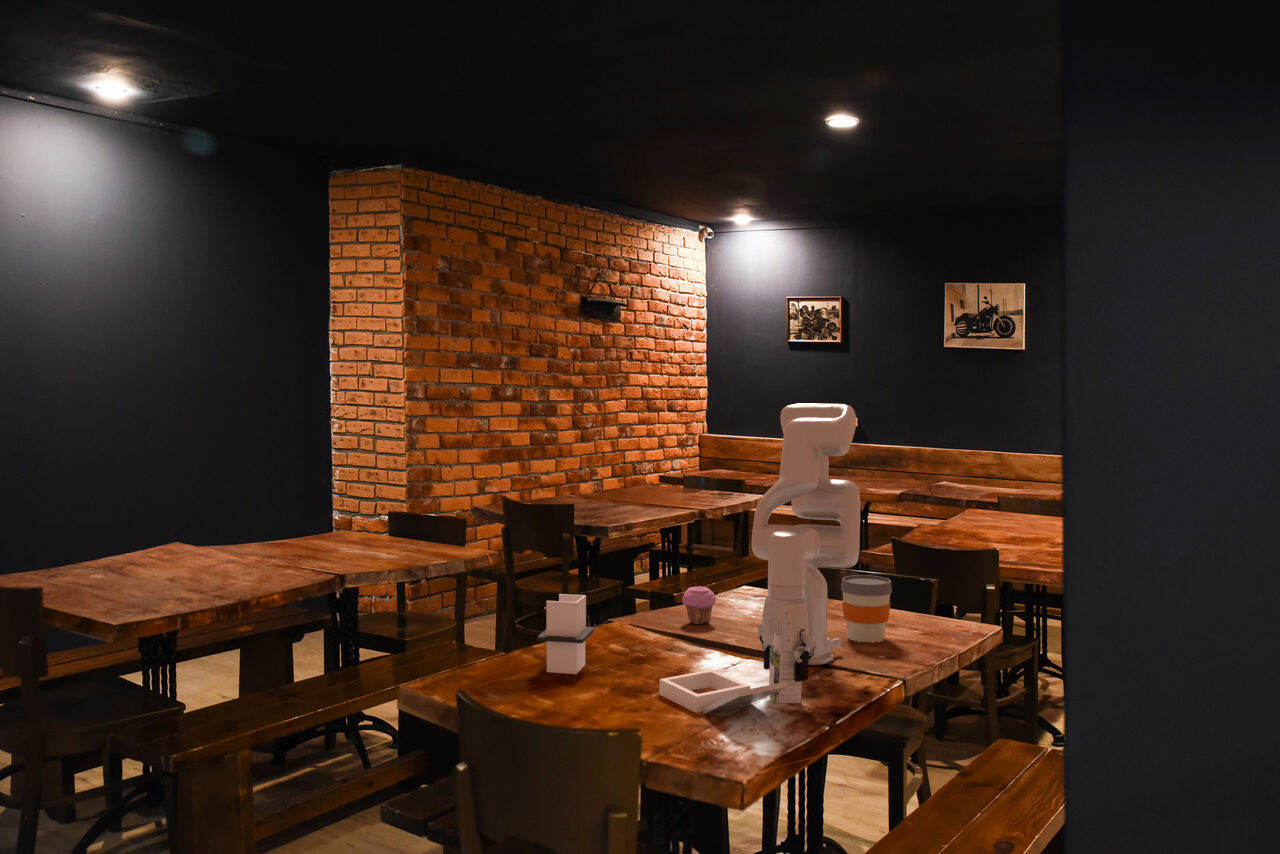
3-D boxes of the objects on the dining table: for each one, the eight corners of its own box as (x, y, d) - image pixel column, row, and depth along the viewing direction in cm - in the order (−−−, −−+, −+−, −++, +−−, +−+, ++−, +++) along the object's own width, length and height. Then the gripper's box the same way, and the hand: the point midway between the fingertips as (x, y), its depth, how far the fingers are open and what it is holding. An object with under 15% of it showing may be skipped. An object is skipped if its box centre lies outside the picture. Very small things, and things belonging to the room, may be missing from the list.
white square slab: (703, 714, 201) (701, 708, 201) (751, 703, 207) (750, 698, 208) (738, 696, 191) (736, 691, 191) (788, 686, 197) (786, 681, 198)
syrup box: (768, 695, 213) (768, 627, 213) (796, 695, 214) (796, 626, 213) (774, 704, 208) (774, 634, 207) (802, 704, 208) (803, 633, 207)
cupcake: (693, 628, 269) (694, 591, 268) (676, 621, 276) (676, 584, 276) (721, 624, 273) (722, 587, 273) (703, 617, 281) (703, 581, 280)
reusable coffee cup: (835, 641, 256) (836, 582, 255) (845, 630, 268) (846, 573, 267) (887, 647, 251) (888, 586, 251) (894, 635, 263) (895, 577, 262)
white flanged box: (532, 651, 248) (532, 584, 247) (630, 657, 243) (630, 589, 242) (497, 682, 223) (496, 607, 222) (605, 689, 218) (605, 613, 217)
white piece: (711, 685, 220) (711, 669, 220) (750, 702, 209) (750, 685, 209) (659, 695, 213) (659, 679, 213) (696, 714, 202) (696, 696, 202)
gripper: (745, 586, 215) (745, 666, 216) (800, 602, 200) (799, 688, 201) (773, 582, 219) (772, 661, 220) (829, 598, 204) (828, 682, 205)
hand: (785, 674), depth 210 cm, fingers open, 9 cm apart
